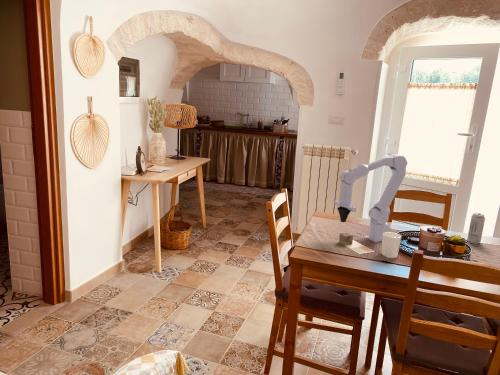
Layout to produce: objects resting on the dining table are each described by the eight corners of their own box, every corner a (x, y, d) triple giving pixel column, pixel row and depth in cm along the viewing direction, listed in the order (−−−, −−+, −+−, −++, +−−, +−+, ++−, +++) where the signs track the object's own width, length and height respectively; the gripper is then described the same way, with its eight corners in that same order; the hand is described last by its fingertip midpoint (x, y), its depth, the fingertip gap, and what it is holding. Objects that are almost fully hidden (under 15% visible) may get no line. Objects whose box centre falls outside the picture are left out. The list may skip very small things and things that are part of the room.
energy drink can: (464, 240, 198) (469, 213, 194) (471, 239, 201) (476, 212, 197) (475, 244, 193) (481, 216, 189) (482, 243, 195) (488, 215, 192)
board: (352, 240, 190) (352, 239, 190) (374, 252, 176) (374, 251, 176) (337, 242, 187) (337, 241, 187) (359, 254, 173) (359, 253, 172)
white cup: (396, 260, 168) (399, 239, 166) (378, 256, 172) (381, 235, 170) (400, 254, 175) (403, 234, 172) (382, 250, 179) (385, 230, 176)
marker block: (346, 241, 188) (347, 232, 187) (352, 244, 184) (353, 235, 183) (338, 242, 186) (339, 233, 185) (344, 245, 182) (345, 236, 181)
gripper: (330, 192, 191) (327, 218, 194) (348, 199, 178) (345, 227, 181) (341, 191, 194) (339, 216, 197) (360, 198, 181) (357, 225, 184)
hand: (343, 221), depth 189 cm, fingers closed
